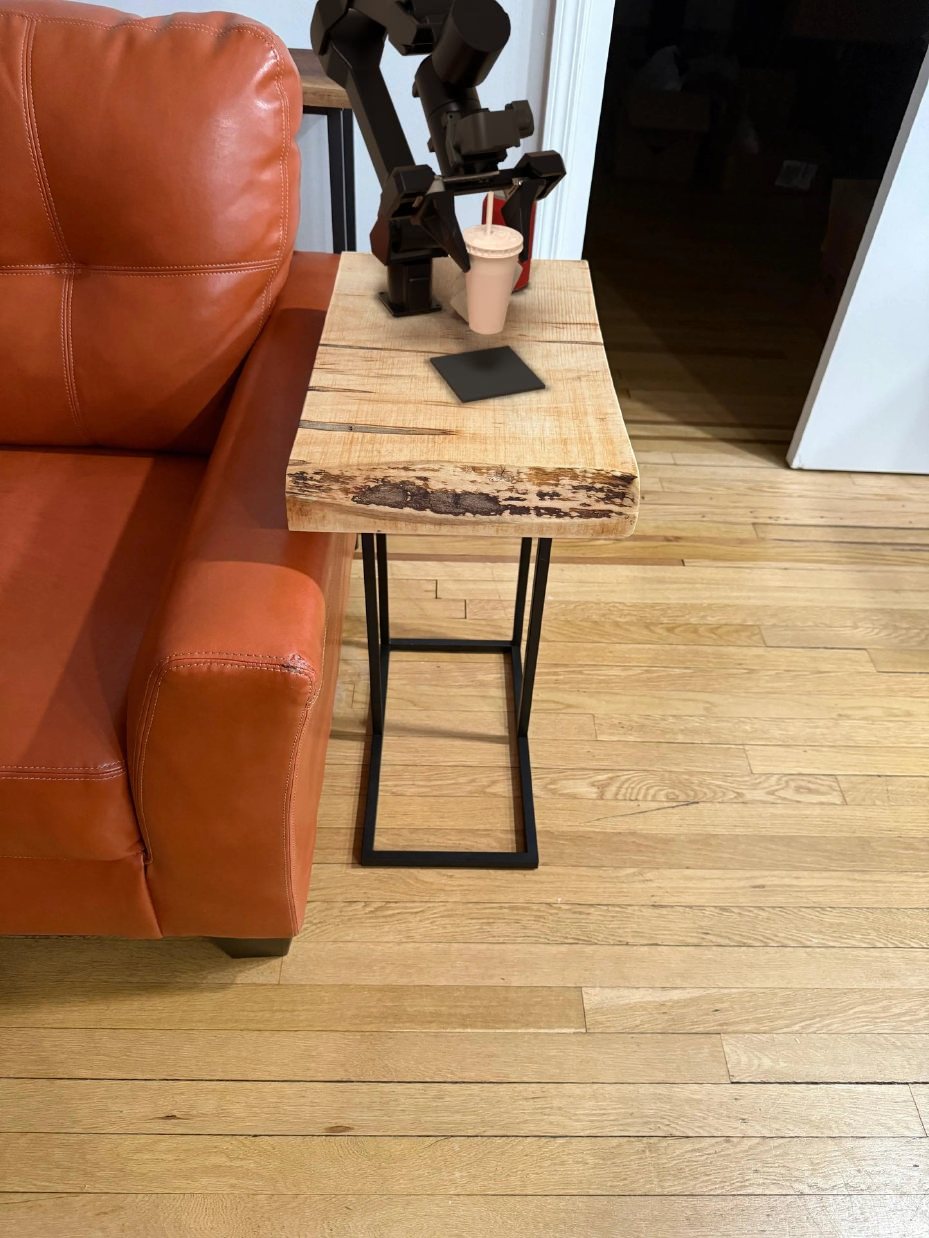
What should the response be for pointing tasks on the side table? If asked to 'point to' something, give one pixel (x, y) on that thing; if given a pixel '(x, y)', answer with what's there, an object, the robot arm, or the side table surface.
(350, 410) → the side table surface
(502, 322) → the smoothie
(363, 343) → the side table surface
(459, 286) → the tape dispenser
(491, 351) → the coaster
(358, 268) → the side table surface
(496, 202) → the beverage can
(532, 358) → the side table surface
